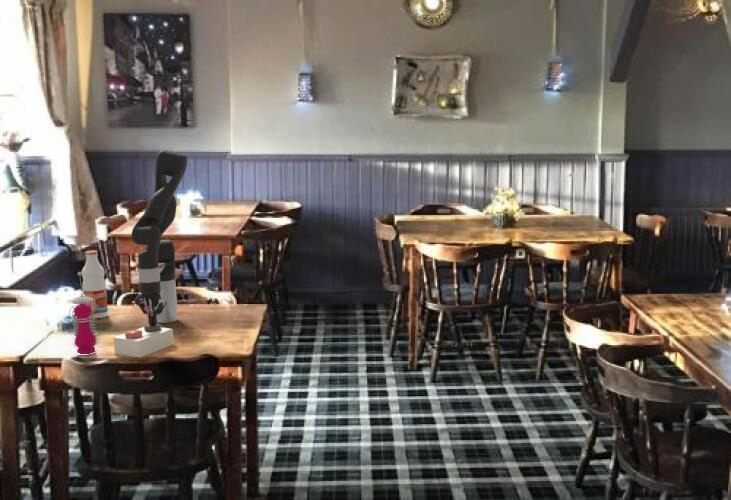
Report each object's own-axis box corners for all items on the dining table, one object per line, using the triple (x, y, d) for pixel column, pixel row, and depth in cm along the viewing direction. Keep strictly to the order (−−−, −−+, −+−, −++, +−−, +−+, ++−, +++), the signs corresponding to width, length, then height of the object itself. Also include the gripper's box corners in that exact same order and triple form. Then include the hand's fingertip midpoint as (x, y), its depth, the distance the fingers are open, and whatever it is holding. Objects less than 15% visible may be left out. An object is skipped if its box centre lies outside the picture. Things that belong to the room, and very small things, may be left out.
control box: (114, 353, 341) (113, 337, 340) (149, 341, 356) (147, 325, 355) (139, 357, 335) (138, 341, 334) (173, 344, 350) (172, 328, 349)
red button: (122, 347, 340) (121, 333, 339) (134, 343, 345) (133, 329, 344) (135, 349, 337) (133, 335, 336) (146, 345, 342) (145, 330, 341)
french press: (103, 332, 370) (98, 270, 365) (81, 340, 360) (76, 276, 355) (84, 330, 374) (79, 268, 370) (63, 337, 364) (57, 274, 360)
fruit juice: (90, 314, 401) (84, 249, 396) (111, 314, 400) (106, 249, 395) (81, 319, 392) (75, 253, 387) (103, 319, 391) (97, 253, 386)
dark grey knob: (141, 340, 348) (140, 326, 347) (152, 336, 353) (151, 322, 352) (154, 342, 345) (153, 328, 344) (165, 338, 350) (164, 324, 349)
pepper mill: (78, 351, 345) (73, 297, 342) (98, 350, 346) (94, 296, 342) (74, 356, 338) (69, 302, 335) (94, 355, 339) (90, 301, 335)
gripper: (128, 280, 345) (132, 326, 348) (156, 283, 339) (159, 329, 342) (142, 276, 352) (146, 321, 355) (170, 278, 345) (173, 324, 348)
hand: (153, 325), depth 348 cm, fingers closed
